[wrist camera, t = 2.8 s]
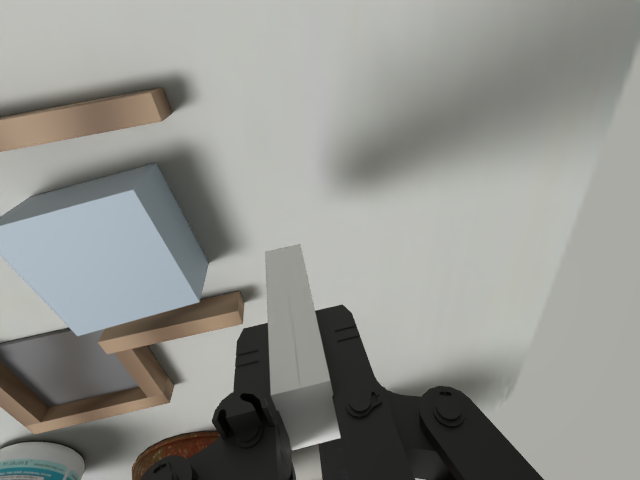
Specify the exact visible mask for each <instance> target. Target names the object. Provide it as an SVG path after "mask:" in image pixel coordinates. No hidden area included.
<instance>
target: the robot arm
mask: <svg viewBox="0 0 640 480" xmlns="http://www.w3.org/2000/svg"><path fill="white" fill-rule="evenodd" d="M265 262H266V287H267V313H268V323H266V324H261V325H257V326H253V327H249V328H244V329H243V331H242V333H241V335H240V337H239V339H238V341H237V349H236V364H235V367H236V369H235V378H234V392H233V393H231V394H230V395H228V396H227V397H226V398H225V399H223V400H222V401H221V403H220V404H219V406H218V407H217V409H216V410H215V412H214V416H213V419H212V423H213V424H214V426H215V428H216V429H217V431H218V433H219V434H220V437H219V438H218V439H217V440H216V441H215V442H213V443H212V444H211V445H209V446H208V447H206V448H205V449H203V450H201V451H200V452H198V453H196V454H195V455H193V456H191V457H190V458H188V459H185V458H184V457H181V456H178V455H173V456H168V457H164V458H163V459H161V460H159V461H158V462H156V463H154V464H153V465H152V466H151V467H150V468H149V469H148V470H147V471H146V472H145V473H144V474H143V476H142V478H141V479H140V480H296V475H295V471H294V467H293V464H292V462H291V450H290V445H291V448H292V450H296V449H300V448H304V447H308V446H312V445H315V444H319V443H323V442H327V441H331V440H335V439H339V438H341V441H342V446H343V451H344V455H345V460H346V465H347V470H348V474H349V479H350V480H415V478H419V479H426V480H544V479H543V478H542V477H541V476H540V475H539V474H538V473H537V472H536V471H535V469H534V468H533V467H532V466H531V465H530V464H529V463H528V462H527V461H526V460H525V459H524V457H523V456H522V455H521V454H520V453H519V452H518V451H517V450H516V449H515V448H514V446H513V445H512V444H511V443H510V442H509V441H508V440H507V439H506V438H505V437H504V436H503V434H502V433H501V432H500V431H499V430H498V429H497V428H496V427H495V426H494V425H493V423H492V422H491V421H490V420H489V419H488V418H487V417H486V416H485V415H484V414H483V413H482V411H481V410H480V409H479V408H478V407H477V406H476V405H475V404H474V403H473V402H472V401H471V399H470V398H468V397H467V396H466V395H465V394H463V393H462V392H461V391H459V390H456V389H454V388H451V387H444V386H438V387H435V388H431V389H429V390H428V391H427V392H426V393H425V394H424V395H423V396H422V397H417V396H405V395H399V394H395V393H392V392H390V391H388V390H386V389H385V388H384V387H382V386H381V385H380V384H379V382H378V381H377V380H376V378H375V376H374V374H373V371H372V368H371V366H370V363H369V360H368V357H367V354H366V352H365V349H364V346H363V343H362V340H361V338H360V335H359V332H358V329H357V327H356V324H355V321H354V318H353V315H352V313H351V312H350V311H349V310H348V309H347V308H346V307H345V306H343V305H339V306H334V307H330V308H326V309H322V310H317V311H315V309H314V304H313V300H312V295H311V291H310V286H309V282H308V277H307V272H306V268H305V263H304V259H303V254H302V250H301V245H300V244H298V245H294V246H289V247H285V248H280V249H276V250H271V251H267V252H265Z"/></svg>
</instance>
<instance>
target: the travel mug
mask: <svg viewBox="0 0 640 480" xmlns="http://www.w3.org/2000/svg"><path fill="white" fill-rule="evenodd" d="M319 452H320V460H321V469H322V478H323V480H350V479H349V474H348V470H347V465H346V460H345V455H344V451H343V446H342V441H341V438H339V439H335V440H331V441H327V442H323V443H319Z"/></svg>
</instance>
